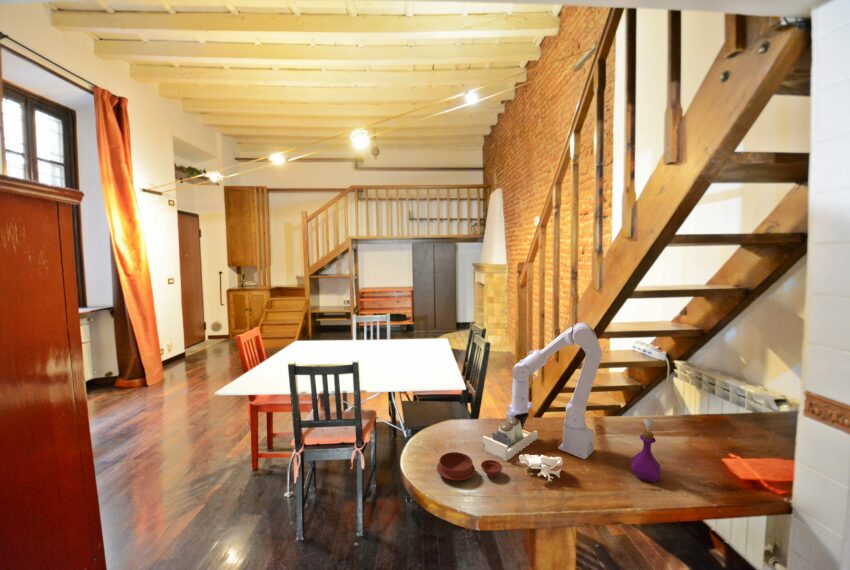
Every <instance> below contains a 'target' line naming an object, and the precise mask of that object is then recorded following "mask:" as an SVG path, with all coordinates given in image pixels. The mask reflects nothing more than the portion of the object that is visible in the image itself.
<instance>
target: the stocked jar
mask: <svg viewBox="0 0 850 570" xmlns="http://www.w3.org/2000/svg"><path fill="white" fill-rule="evenodd" d="M498 430H499V431H502V432H504V433H506V436H507V437H509V438H511V447H512V446H513V445H515V444H516V440H515V433H514V426H513V424H512V423H511V422H508V421H506V420H505V421H502V422H500V423H499V425H498Z"/></svg>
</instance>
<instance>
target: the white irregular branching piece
mask: <svg viewBox="0 0 850 570" xmlns="http://www.w3.org/2000/svg"><path fill="white" fill-rule="evenodd" d="M518 459H519V462H520V464H522V465H523V464H525V465H527V467H528V468H531V469H532V470H533V469H535V470H540V471H539V472H538V473H537V477H540V476H543V477H544V478H547V481H548V482H553V480H552V479H554V477H553V476H551V474H552V475H553V474H554V475H555V476H557V477H558V479H559V478H561V476H560V473H561V471H562V468H560V469H558V470H554V468H555V467H561V466H563V464H564V463H563V460H564V459H562V457H561V456H555V457H554V456H547V455H543V454H540V455H538V454H527V453H525V454H520V455H518Z"/></svg>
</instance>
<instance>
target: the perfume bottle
mask: <svg viewBox="0 0 850 570" xmlns="http://www.w3.org/2000/svg"><path fill="white" fill-rule="evenodd" d="M642 419H643V423H644V426H645V427H646V428H647V430H645V429H644V430H642V434H640V436H639V439H640V440H642V442H643V447H642V449H641V450H640V451H639V452H638V453H637V454H635V455H634V456H632V459H631V471H632V472H633V474H634V475H635V477H636V478H637V479H639V480H642V481H647V482H649V481H650V483H655V482H656V481H657V480H659V479H660V478H661V476H662V475H661V464H660V462H659V461H658V460H657V459H656V458H655V456H654V455H653V452H652V448H651V447H652V444H654V443H656V438H655V437H654V433H653V432H651V431H650V430H649V429H650V428H651V427H653V425H654V424H655V421H654V419H649V418H642Z"/></svg>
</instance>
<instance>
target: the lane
mask: <svg viewBox="0 0 850 570" xmlns="http://www.w3.org/2000/svg"><path fill="white" fill-rule="evenodd" d="M522 432H523V436H524V437H523V439H522V440H520V441H519V442H516V444H515V445H513V446H512V447H510V448H509V449H508V446H507V445H505V444H502V443H500V442H498V441H495V440H493V439H492V437H488V436H487V435H483V436H482V452H484V451H485V452H484V453H487V454H489V455H490V456H493V457H495V458H497V459H500V460H501V461H503V462H507V461H509V460H510V459H512V458H513V457H514V456H515V454H516V455H517V454H518V453H520V452H521V451H523V448H524V449H526V446H527V447H528V446H529V445H531V444H533V441H534V442H535V441H536V440H538V431H537V430H533V431H532V432H530V431H527V430H525V429H523V430H522ZM530 443H531V444H530ZM519 451H520V452H519Z"/></svg>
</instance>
